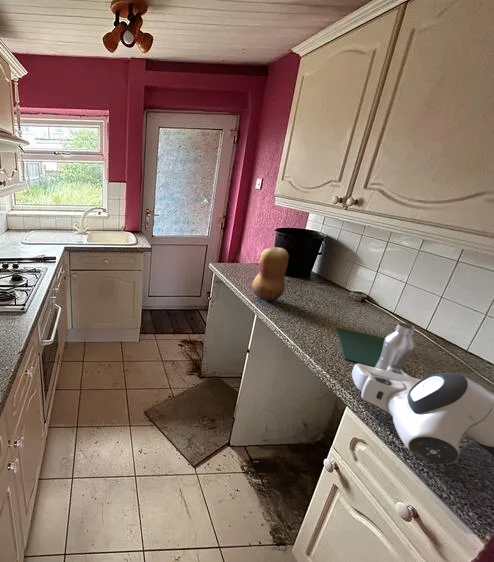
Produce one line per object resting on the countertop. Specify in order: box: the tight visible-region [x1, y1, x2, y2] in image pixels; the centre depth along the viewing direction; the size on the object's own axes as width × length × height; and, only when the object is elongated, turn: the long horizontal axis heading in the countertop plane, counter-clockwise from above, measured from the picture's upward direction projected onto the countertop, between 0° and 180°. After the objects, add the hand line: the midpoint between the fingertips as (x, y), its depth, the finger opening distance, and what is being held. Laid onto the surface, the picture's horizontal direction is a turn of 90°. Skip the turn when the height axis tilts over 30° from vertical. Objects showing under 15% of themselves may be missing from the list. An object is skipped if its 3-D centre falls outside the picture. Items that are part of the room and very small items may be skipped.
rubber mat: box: [336, 326, 407, 374], centre depth 109 cm, size 24×16×1 cm, turn 152°
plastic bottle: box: [374, 322, 416, 371], centre depth 87 cm, size 6×7×20 cm
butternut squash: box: [251, 246, 290, 302], centre depth 142 cm, size 14×13×25 cm
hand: (394, 369), depth 85 cm, fingers closed
